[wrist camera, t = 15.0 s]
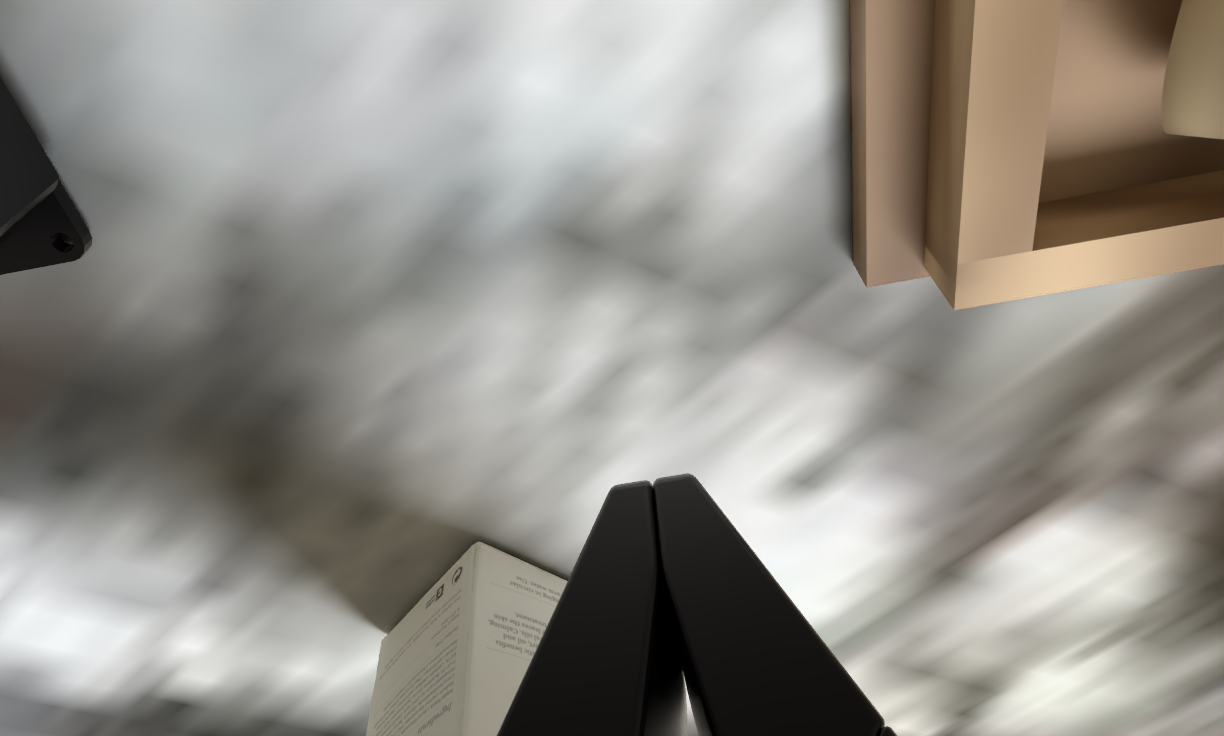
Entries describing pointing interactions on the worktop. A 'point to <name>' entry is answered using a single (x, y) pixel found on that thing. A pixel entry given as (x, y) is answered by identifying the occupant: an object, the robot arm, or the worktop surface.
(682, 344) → the worktop surface
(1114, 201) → the cradle
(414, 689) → the skincare box
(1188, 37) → the peg
